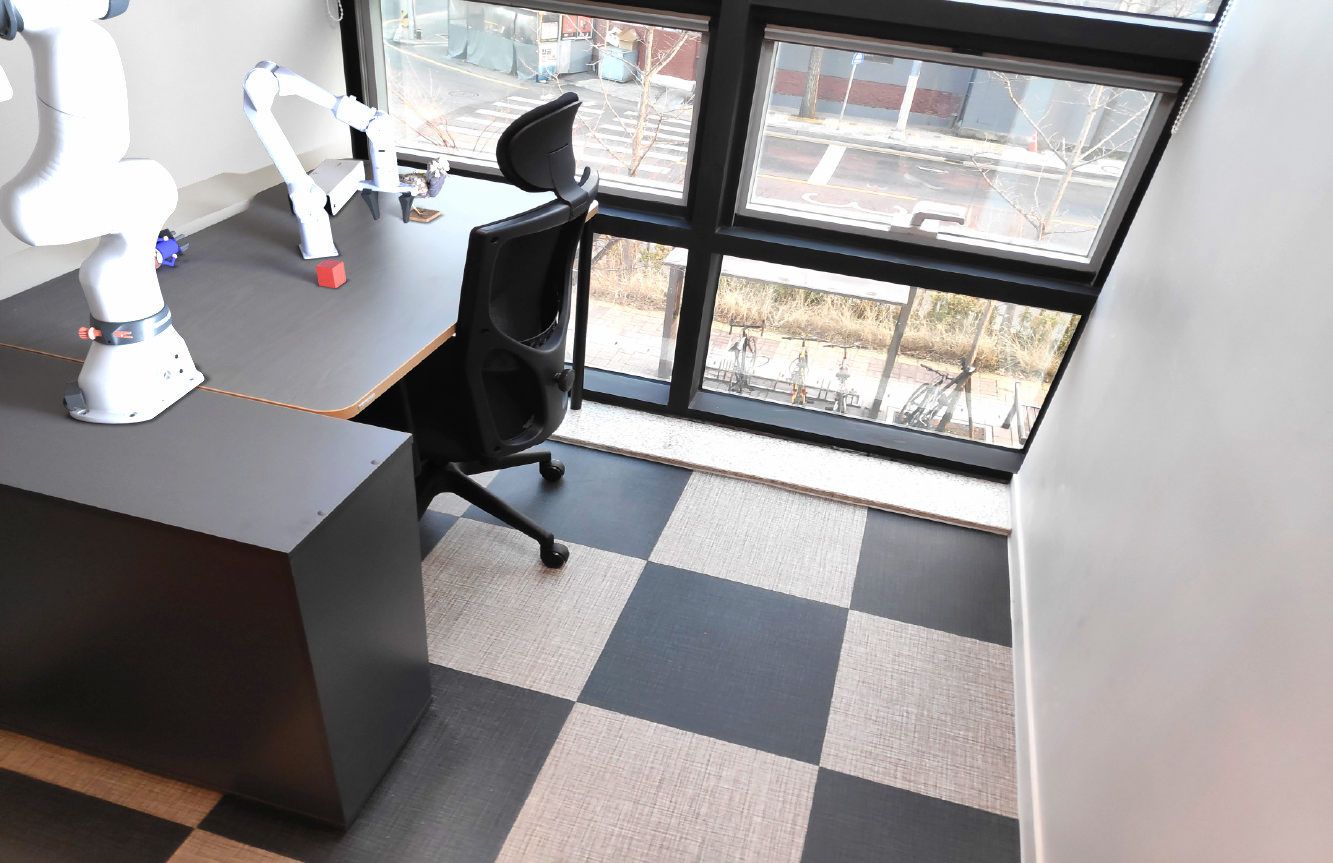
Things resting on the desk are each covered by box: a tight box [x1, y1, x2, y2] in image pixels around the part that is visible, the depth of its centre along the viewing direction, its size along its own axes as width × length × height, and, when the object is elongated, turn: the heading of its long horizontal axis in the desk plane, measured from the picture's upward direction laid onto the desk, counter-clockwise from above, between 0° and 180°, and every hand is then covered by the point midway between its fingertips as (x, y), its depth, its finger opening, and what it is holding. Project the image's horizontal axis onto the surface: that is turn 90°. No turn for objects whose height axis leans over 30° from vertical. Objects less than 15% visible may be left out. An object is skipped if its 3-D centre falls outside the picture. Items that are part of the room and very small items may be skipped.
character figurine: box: [154, 227, 190, 270], centre depth 191 cm, size 8×7×15 cm
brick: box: [315, 259, 347, 289], centre depth 190 cm, size 4×4×5 cm
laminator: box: [287, 158, 366, 217], centre depth 238 cm, size 34×12×6 cm, turn 2°
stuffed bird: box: [398, 156, 454, 223], centre depth 226 cm, size 10×20×17 cm, turn 93°
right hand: (391, 220), depth 205 cm, fingers open, 7 cm apart
